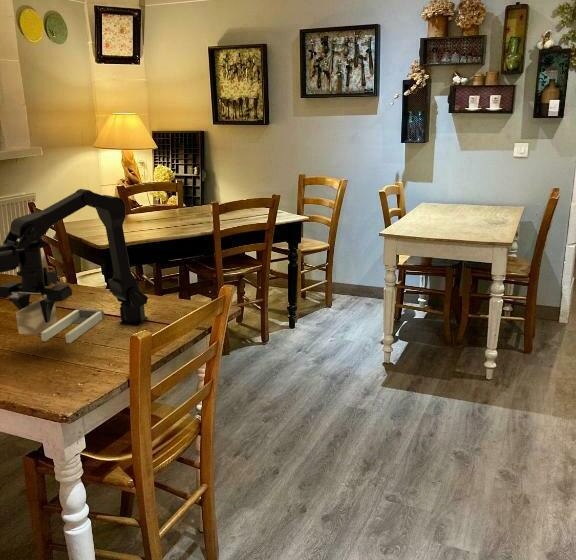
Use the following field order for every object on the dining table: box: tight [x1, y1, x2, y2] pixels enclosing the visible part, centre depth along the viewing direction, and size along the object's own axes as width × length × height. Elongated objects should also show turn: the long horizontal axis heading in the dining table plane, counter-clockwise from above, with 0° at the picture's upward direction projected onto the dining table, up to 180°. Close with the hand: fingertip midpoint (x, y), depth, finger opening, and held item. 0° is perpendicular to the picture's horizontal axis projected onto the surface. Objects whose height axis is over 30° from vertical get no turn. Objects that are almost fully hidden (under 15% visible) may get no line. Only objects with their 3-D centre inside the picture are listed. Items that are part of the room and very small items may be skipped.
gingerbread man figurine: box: [38, 265, 68, 303], centre depth 199 cm, size 9×4×12 cm, turn 104°
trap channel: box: [40, 308, 105, 344], centre depth 176 cm, size 9×20×2 cm, turn 170°
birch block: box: [15, 299, 58, 336], centre depth 157 cm, size 5×10×6 cm, turn 170°
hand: (38, 321), depth 158 cm, fingers closed on birch block, 5 cm apart
